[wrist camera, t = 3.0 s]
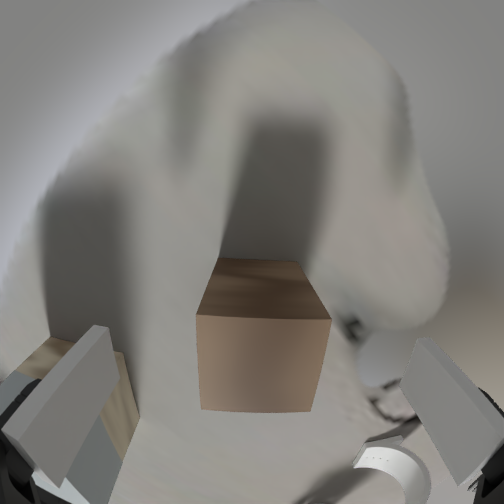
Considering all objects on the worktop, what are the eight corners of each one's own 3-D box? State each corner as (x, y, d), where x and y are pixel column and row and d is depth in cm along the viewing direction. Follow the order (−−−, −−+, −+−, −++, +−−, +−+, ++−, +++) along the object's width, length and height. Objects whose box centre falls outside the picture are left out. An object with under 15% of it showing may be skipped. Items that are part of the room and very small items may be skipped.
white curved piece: (364, 442, 23) (396, 526, 11) (408, 432, 23) (446, 505, 11) (351, 463, 24) (376, 540, 12) (393, 454, 24) (423, 522, 12)
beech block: (73, 399, 21) (49, 435, 15) (51, 336, 19) (14, 370, 13) (140, 417, 21) (122, 462, 15) (123, 352, 19) (92, 399, 13)
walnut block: (217, 327, 19) (201, 409, 11) (218, 257, 17) (196, 314, 10) (288, 330, 19) (310, 411, 11) (297, 261, 18) (332, 319, 10)
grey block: (49, 435, 15) (23, 477, 9) (14, 369, 13) (-26, 412, 7) (122, 462, 15) (103, 516, 10) (93, 399, 13) (54, 464, 8)
